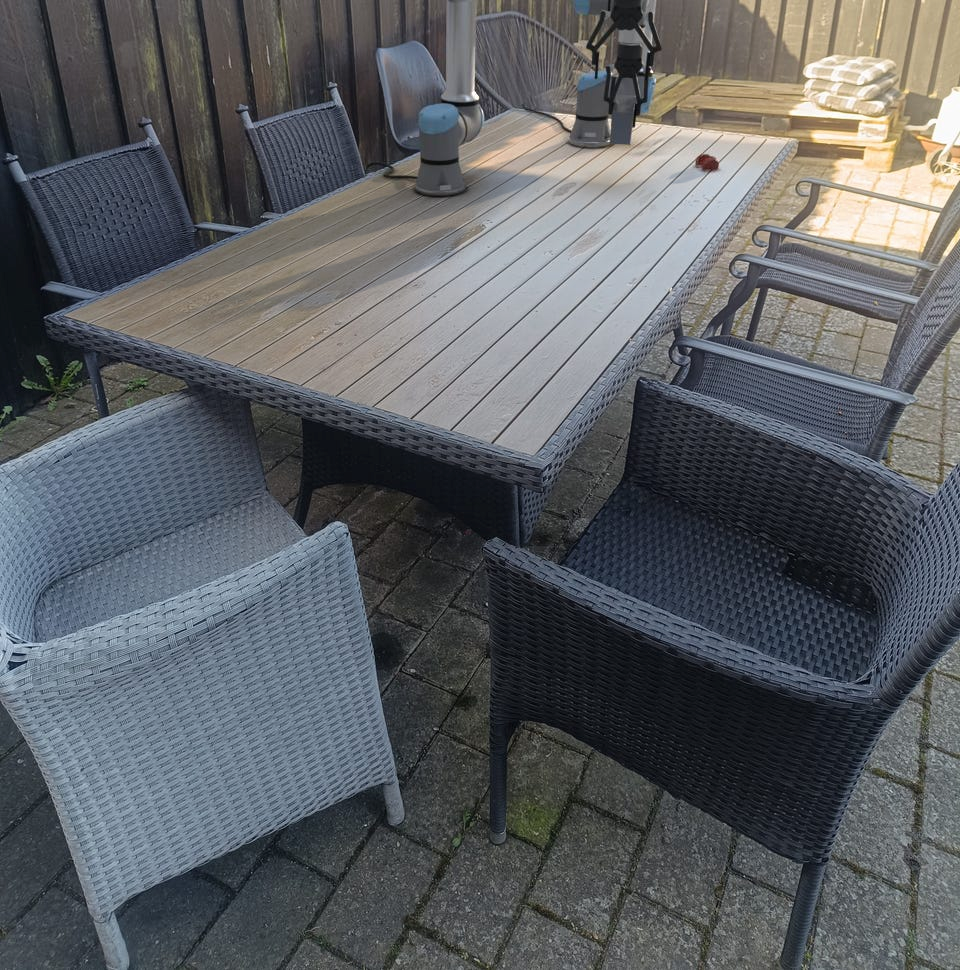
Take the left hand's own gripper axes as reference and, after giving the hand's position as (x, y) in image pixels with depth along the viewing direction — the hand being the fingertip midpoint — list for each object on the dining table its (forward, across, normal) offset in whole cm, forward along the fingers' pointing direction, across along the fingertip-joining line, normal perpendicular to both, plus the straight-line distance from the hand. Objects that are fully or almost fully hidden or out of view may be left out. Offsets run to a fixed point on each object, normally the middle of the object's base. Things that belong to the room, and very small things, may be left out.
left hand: (620, 78), depth 232 cm
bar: (+18, -2, -16) cm, 25 cm away
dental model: (+33, -31, -38) cm, 59 cm away
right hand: (+18, -2, -25) cm, 31 cm away
